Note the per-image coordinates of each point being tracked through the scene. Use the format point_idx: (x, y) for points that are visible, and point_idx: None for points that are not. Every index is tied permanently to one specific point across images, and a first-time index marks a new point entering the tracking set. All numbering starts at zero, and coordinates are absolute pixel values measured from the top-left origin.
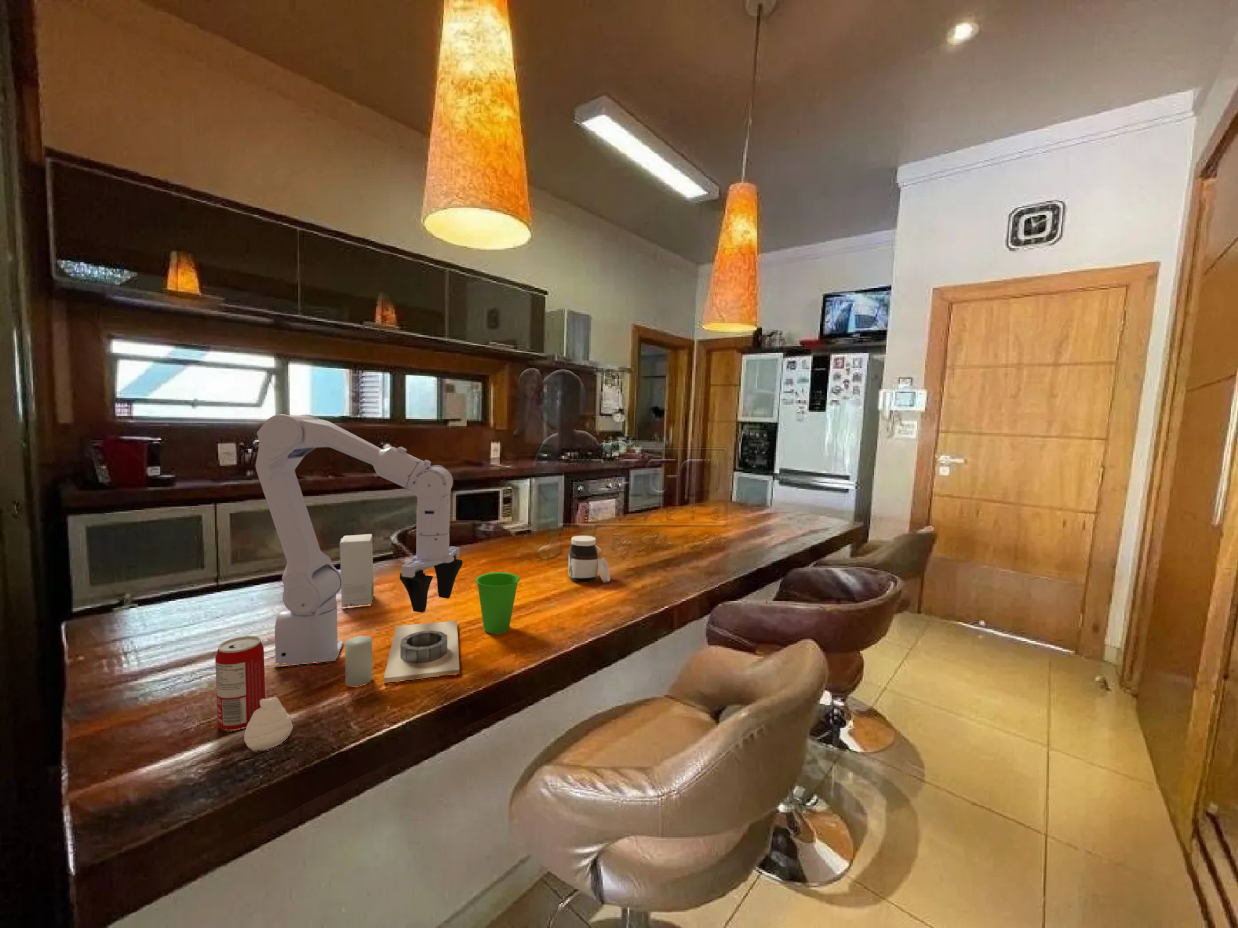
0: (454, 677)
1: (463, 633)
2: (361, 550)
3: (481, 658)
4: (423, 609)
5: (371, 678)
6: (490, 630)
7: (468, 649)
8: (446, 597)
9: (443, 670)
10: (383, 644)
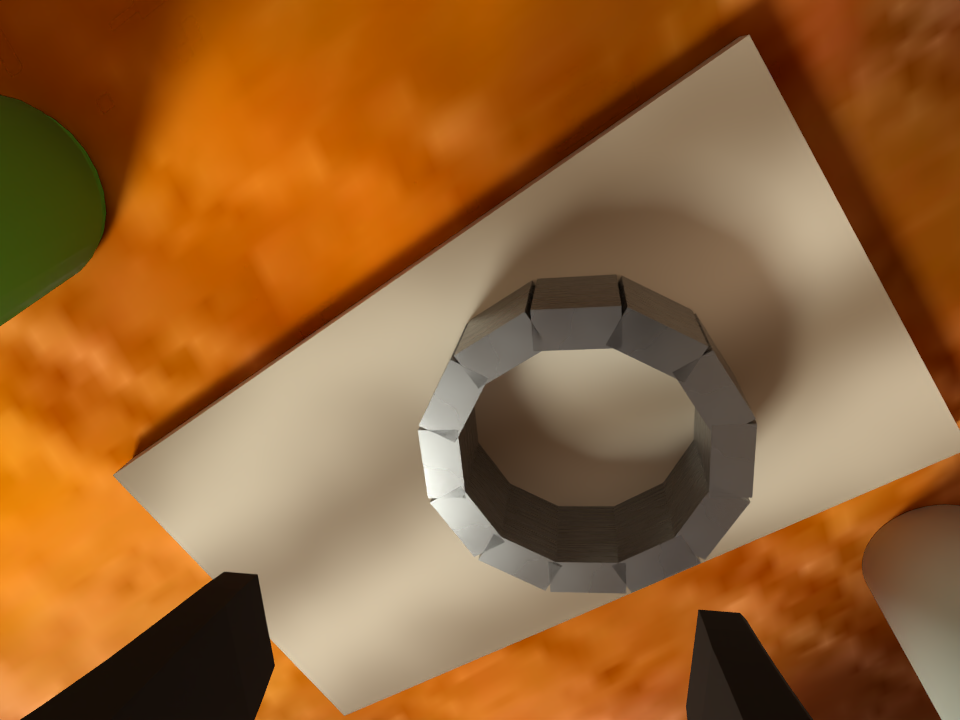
0: (779, 51)
1: (197, 365)
2: None
3: (451, 29)
4: (754, 637)
5: (928, 517)
6: (93, 194)
7: (370, 206)
8: (256, 598)
9: (791, 146)
10: (509, 668)
